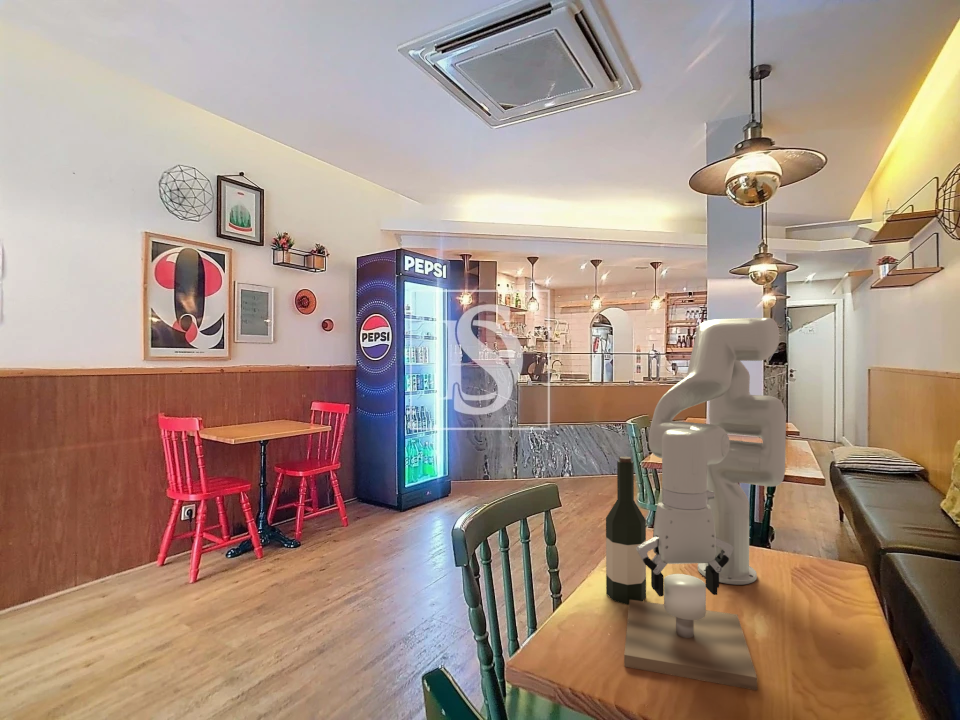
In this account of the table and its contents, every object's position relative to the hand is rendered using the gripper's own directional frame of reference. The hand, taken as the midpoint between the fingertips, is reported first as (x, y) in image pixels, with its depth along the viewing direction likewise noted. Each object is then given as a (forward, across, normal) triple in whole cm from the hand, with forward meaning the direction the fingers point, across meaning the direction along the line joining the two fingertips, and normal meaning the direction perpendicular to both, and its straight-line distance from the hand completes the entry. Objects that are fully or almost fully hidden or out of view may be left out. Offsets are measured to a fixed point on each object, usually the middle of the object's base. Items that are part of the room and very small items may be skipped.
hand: (684, 592), depth 93 cm
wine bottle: (+10, +5, -18) cm, 22 cm away
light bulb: (+3, 0, -1) cm, 3 cm away
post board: (+9, 0, 0) cm, 9 cm away
